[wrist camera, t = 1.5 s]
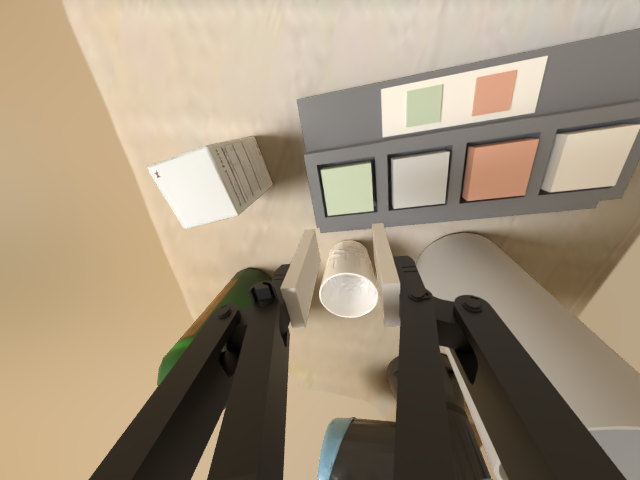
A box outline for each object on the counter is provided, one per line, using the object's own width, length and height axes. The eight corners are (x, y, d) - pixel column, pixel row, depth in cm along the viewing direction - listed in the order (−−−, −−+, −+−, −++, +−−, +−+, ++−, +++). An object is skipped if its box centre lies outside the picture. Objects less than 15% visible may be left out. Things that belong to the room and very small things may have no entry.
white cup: (357, 228, 36) (359, 263, 28) (380, 263, 39) (388, 306, 30) (317, 249, 39) (307, 287, 31) (341, 281, 42) (338, 324, 33)
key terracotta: (516, 191, 27) (524, 195, 26) (461, 197, 29) (467, 201, 27) (528, 137, 25) (539, 138, 23) (468, 146, 26) (474, 148, 24)
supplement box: (233, 196, 37) (182, 231, 26) (211, 149, 33) (142, 165, 22) (275, 185, 35) (239, 217, 24) (256, 134, 32) (204, 143, 21)
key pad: (581, 202, 30) (614, 215, 27) (322, 227, 37) (318, 240, 33) (648, 28, 22) (709, 10, 18) (300, 100, 29) (292, 98, 25)
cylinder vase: (411, 294, 41) (477, 492, 19) (417, 232, 35) (521, 417, 14) (487, 294, 39) (656, 516, 17) (507, 228, 33) (796, 438, 12)
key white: (600, 182, 26) (614, 185, 25) (539, 188, 27) (550, 192, 26) (624, 123, 23) (641, 124, 22) (555, 133, 24) (567, 134, 23)
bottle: (220, 265, 44) (54, 454, 19) (271, 258, 41) (155, 462, 17) (241, 306, 48) (129, 499, 24) (288, 302, 46) (216, 511, 22)
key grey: (440, 199, 29) (444, 203, 28) (391, 204, 30) (393, 208, 29) (444, 149, 26) (449, 151, 25) (391, 157, 27) (393, 159, 26)
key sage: (372, 206, 31) (373, 210, 29) (328, 211, 32) (327, 215, 30) (369, 160, 28) (370, 163, 27) (322, 167, 29) (320, 170, 28)
